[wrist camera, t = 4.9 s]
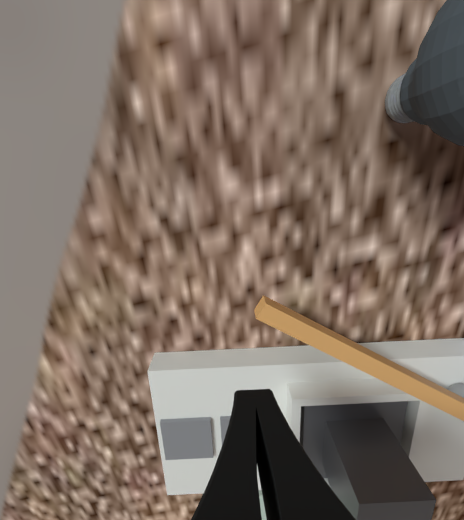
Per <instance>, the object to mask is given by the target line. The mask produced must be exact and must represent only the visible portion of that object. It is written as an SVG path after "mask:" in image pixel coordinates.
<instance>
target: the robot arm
mask: <svg viewBox="0 0 464 520" xmlns="http://www.w3.org/2000/svg"><path fill="white" fill-rule="evenodd" d="M257 466H258V472H259V478H260V484H261V490H262V495H263V501H264V507H265V513H266V518H267V520H356V519H355V518H354V517H353V515H352V514H351V513H350V512H349V510H348V509H347V508H346V507H345V506H344V504H343V503H342V502H341V501H340V499H339V498H338V497H337V495H336V494H335V493H334V492H333V490H332V489H331V488H330V486H329V485H328V484H327V482H326V481H325V480H324V478H323V477H322V476H321V474H320V473H319V471H318V470H317V468H316V467H315V466H314V464H313V463H312V461H311V460H310V458H309V457H308V455H307V454H306V452H305V451H304V449H303V448H302V446H301V444H300V443H299V441H298V439H297V438H296V436H295V435H294V433H293V431H292V430H291V428H290V426H289V424H288V423H287V421H286V419H285V417H284V415H283V413H282V411H281V409H280V407H279V405H278V403H277V401H276V399H275V397H274V394H273V391H271V390H270V389H255V390H237V391H236V392H235V393H234V401H233V408H232V413H231V417H230V421H229V425H228V428H227V432H226V435H225V438H224V442H223V445H222V448H221V450H220V453H219V456H218V459H217V461H216V464H215V467H214V470H213V472H212V475H211V477H210V480H209V482H208V484H207V487H206V489H205V491H204V494H203V496H202V498H201V500H200V502H199V505H198V507H197V509H196V511H195V513H194V515H193V517H192V519H191V520H262V517H261V508H260V499H259V490H258V480H257Z"/></svg>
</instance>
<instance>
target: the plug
mask: <svg viewBox="0 0 464 520" xmlns="http://www.w3.org/2000/svg"><path fill="white" fill-rule="evenodd" d="M407 405H408V401H399V402H379V403H359V404H338V405H318V406H301V418H300V442H299V443H300V444H301V446H302V448H303V449H304V451H305V452H306V454H307V455H308V457H309V458H310V460H311V461H312V463H313V464H314V466H315V467H316V468H317V470H318V471H319V473H320V474H321V476H322V477H323V478H327V479H328V482H329V485H330V488H331V489H332V490H333V492H334V493H335V494H336V495H337V497H338V498H339V499H340V501H341V502H342V503H343V504H344V506H345V507H346V508H347V509H348V510H349V512H350V513H351V514H352V515H353V517H354V518H355V519H356V520H431V519H432V515H433V511H434V507H435V503H436V499H435V497H434V496H433V494H432V493H431V491H430V490H429V488H428V487H427V485H426V483H425V482H424V480H423V479H422V477H421V476H420V474H419V473H418V471H417V469H416V468H415V466H414V465H413V463H412V462H411V460H410V459H409V457H408V455H407V454H406V452H405V451H404V449H403V448H402V446H401V445H400V443H401V437H402V432H403V426H404V421H405V416H406V410H407Z"/></svg>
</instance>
